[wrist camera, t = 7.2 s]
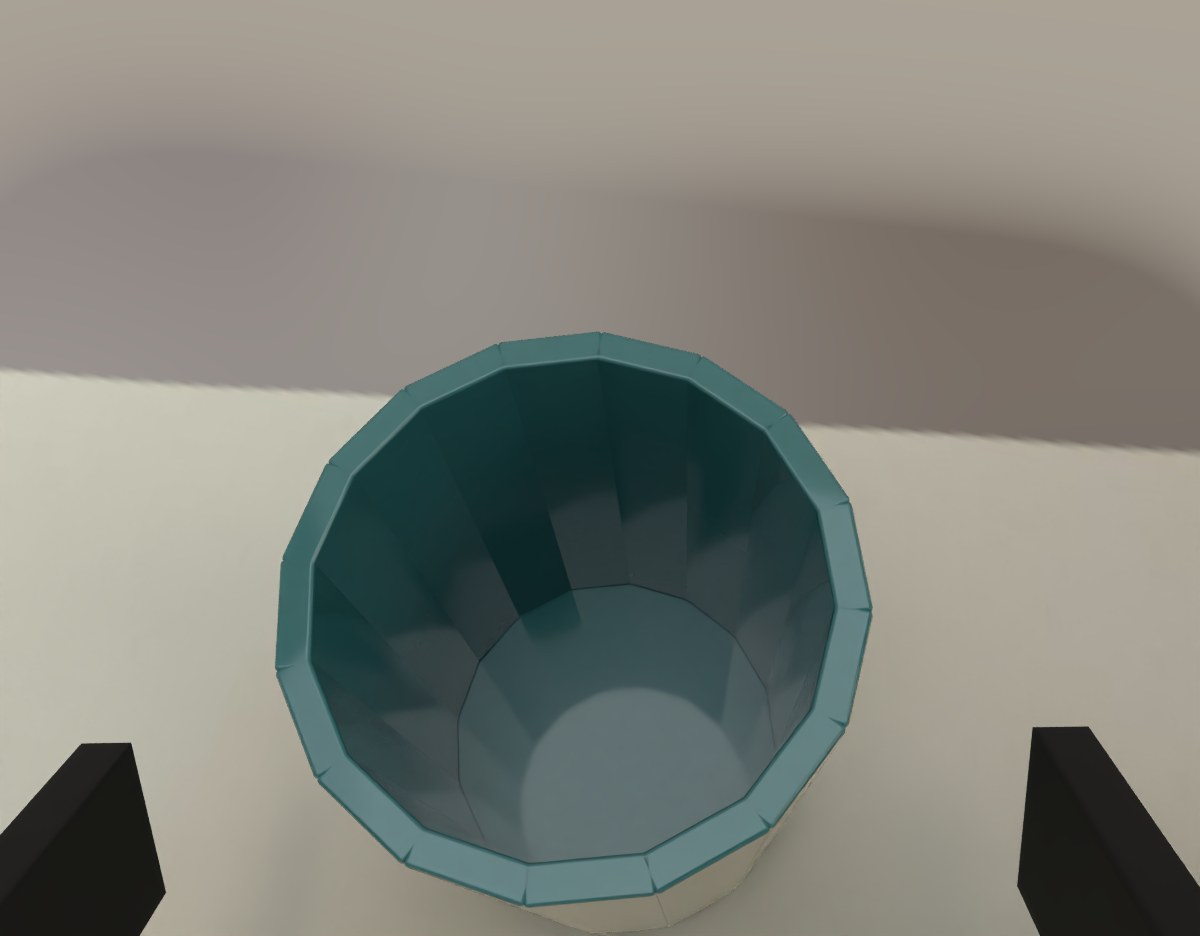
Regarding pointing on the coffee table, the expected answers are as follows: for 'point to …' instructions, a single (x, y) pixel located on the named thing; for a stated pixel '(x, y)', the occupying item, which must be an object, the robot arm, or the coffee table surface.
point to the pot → (575, 627)
